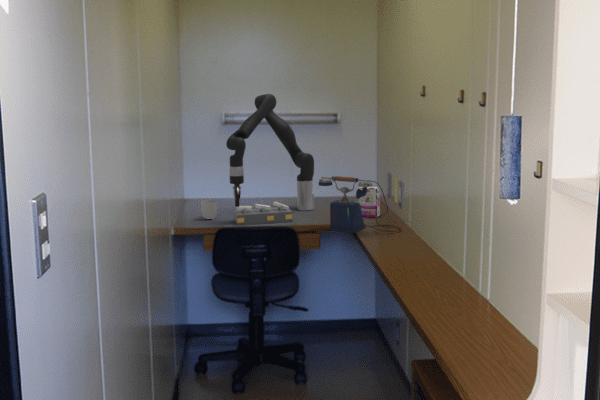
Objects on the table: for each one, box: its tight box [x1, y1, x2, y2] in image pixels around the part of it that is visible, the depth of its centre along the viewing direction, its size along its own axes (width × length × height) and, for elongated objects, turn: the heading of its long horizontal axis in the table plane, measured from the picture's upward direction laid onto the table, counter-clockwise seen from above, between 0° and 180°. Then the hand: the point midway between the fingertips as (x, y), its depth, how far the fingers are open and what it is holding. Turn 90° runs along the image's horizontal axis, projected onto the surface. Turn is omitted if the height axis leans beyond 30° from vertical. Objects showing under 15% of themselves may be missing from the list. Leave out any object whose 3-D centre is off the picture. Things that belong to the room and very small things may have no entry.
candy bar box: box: [357, 186, 381, 219], centre depth 350 cm, size 11×5×16 cm, turn 62°
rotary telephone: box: [318, 175, 401, 234], centre depth 321 cm, size 41×22×27 cm, turn 58°
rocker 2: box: [272, 200, 290, 210], centre depth 348 cm, size 8×4×2 cm, turn 103°
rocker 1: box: [235, 205, 253, 210], centre depth 343 cm, size 8×4×2 cm, turn 103°
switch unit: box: [233, 206, 293, 226], centre depth 346 cm, size 30×14×8 cm, turn 102°
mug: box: [200, 199, 218, 219], centre depth 357 cm, size 13×9×10 cm
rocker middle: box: [254, 203, 272, 210], centre depth 345 cm, size 8×4×2 cm, turn 103°
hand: (237, 206), depth 342 cm, fingers closed
